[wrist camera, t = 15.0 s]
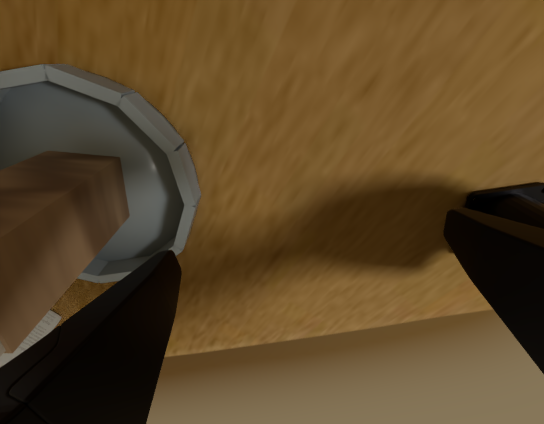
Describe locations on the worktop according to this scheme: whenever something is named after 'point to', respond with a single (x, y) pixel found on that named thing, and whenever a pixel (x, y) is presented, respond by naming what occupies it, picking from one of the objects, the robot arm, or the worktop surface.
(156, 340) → the robot arm
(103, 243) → the walnut block
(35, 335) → the skincare box
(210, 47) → the worktop surface
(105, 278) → the slate dish
